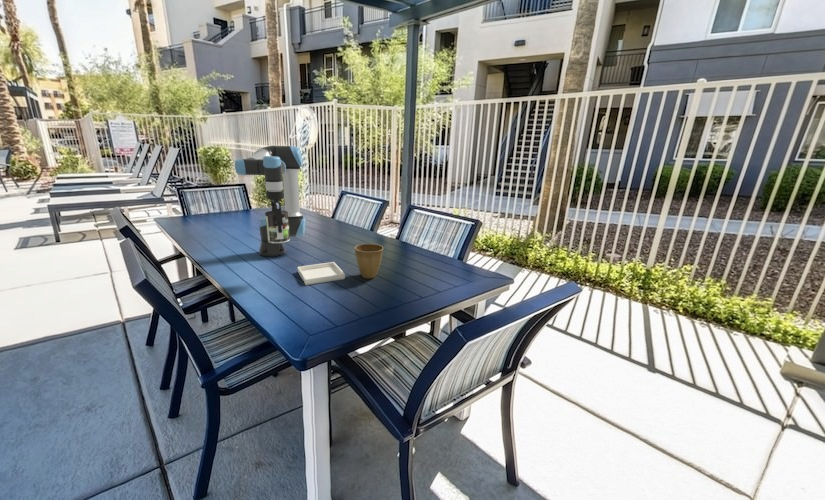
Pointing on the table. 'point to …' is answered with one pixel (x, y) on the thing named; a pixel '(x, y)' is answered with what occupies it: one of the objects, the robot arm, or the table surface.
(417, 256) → the table surface
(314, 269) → the tray
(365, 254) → the plant pot
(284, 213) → the coffee can
